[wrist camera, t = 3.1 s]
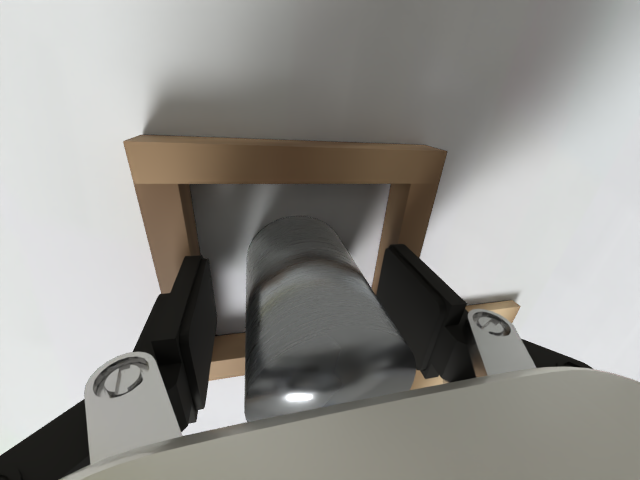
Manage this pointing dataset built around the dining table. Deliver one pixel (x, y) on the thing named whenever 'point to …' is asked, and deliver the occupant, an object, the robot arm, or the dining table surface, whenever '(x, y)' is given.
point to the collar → (271, 168)
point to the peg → (314, 325)
